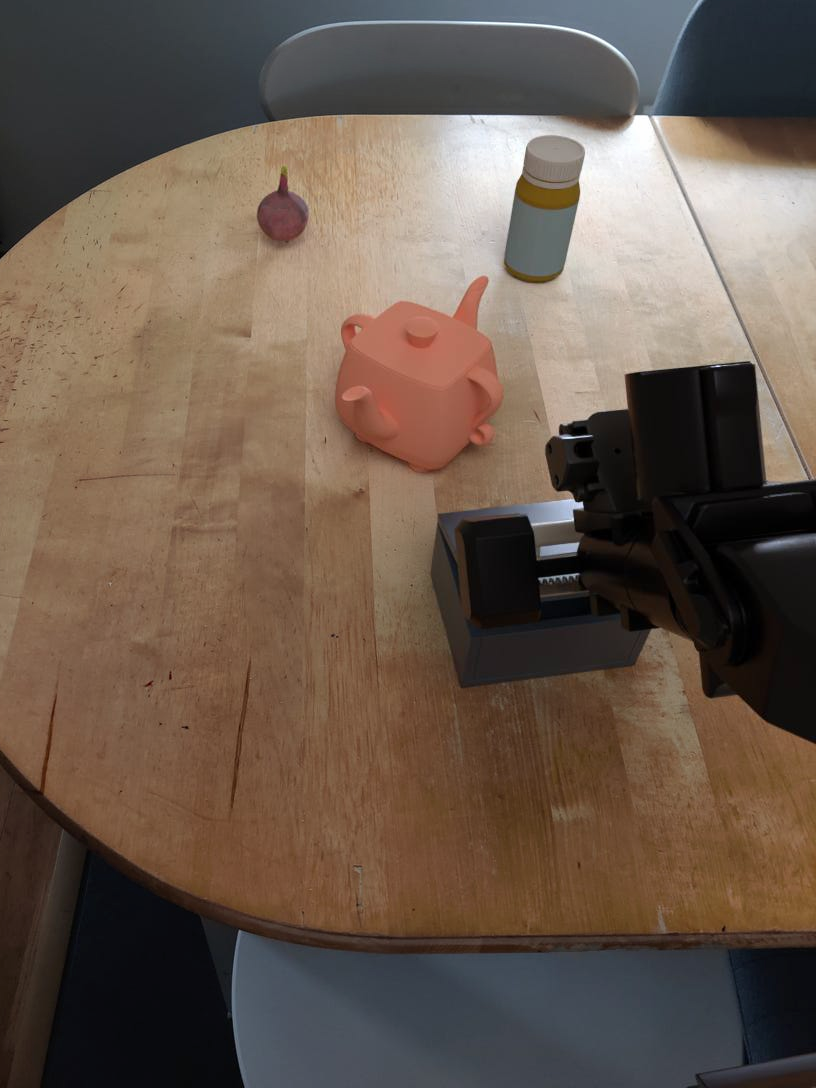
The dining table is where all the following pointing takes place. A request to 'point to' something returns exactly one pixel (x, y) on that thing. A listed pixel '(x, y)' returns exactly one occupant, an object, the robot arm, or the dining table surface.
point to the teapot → (419, 380)
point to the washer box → (529, 635)
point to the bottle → (544, 208)
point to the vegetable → (282, 212)
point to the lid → (546, 521)
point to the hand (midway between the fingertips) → (566, 541)
